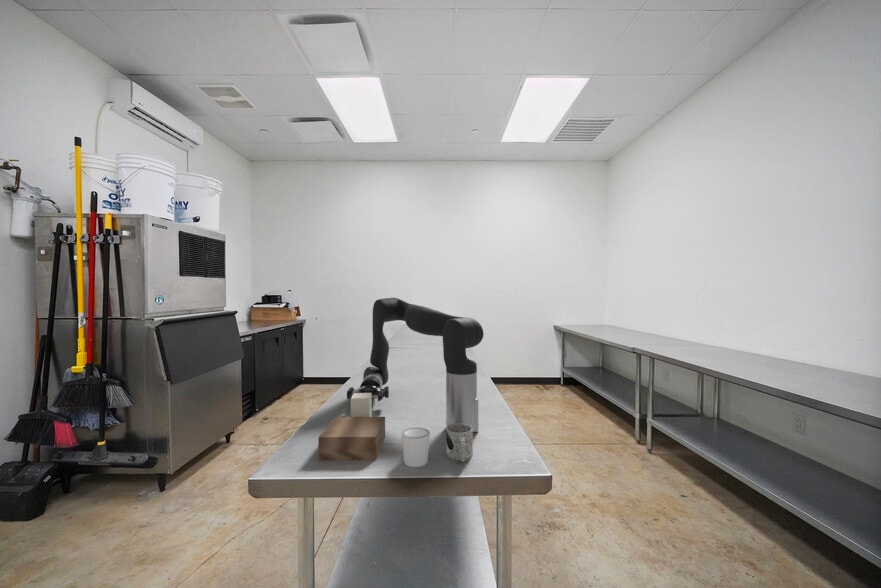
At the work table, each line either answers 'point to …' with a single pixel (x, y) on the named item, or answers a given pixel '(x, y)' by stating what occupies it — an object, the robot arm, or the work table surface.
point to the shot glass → (415, 446)
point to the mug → (459, 441)
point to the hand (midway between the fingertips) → (365, 398)
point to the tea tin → (361, 405)
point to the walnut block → (352, 438)
